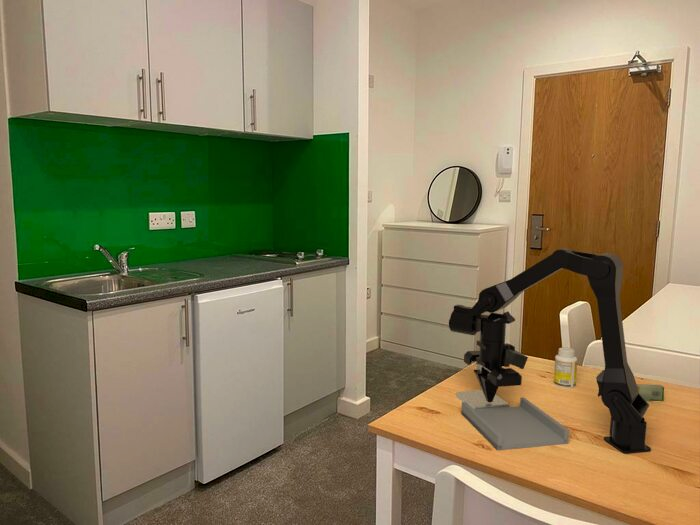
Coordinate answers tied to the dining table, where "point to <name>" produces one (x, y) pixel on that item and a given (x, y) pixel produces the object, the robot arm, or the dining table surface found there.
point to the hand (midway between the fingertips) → (489, 401)
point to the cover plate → (480, 400)
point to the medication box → (651, 392)
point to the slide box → (516, 426)
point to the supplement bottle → (565, 368)
